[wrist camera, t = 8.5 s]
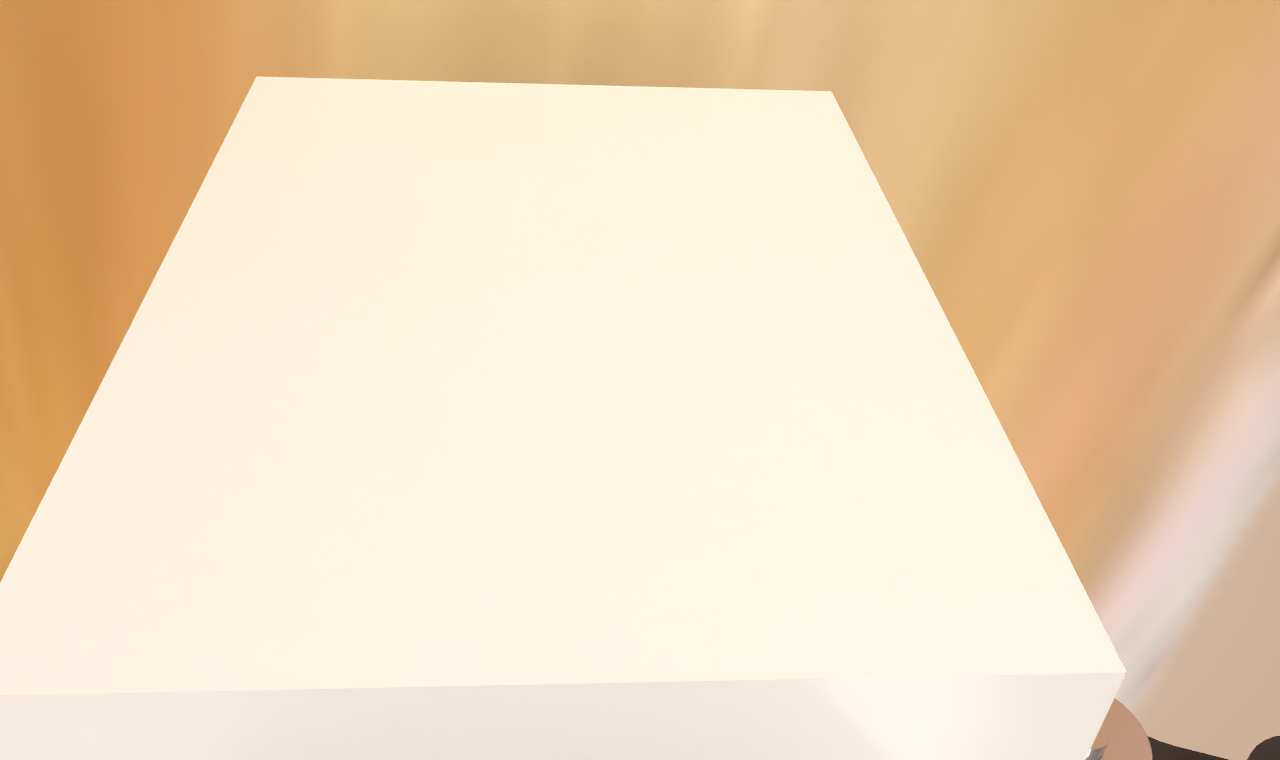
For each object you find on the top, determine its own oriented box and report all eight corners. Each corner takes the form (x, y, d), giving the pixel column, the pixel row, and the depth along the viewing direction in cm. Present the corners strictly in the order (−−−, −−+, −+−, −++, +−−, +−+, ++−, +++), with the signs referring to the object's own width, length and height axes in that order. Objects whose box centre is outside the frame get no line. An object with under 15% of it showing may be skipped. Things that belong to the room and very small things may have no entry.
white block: (256, 75, 13) (-58, 695, 6) (831, 90, 14) (1125, 671, 7) (320, 507, 17) (172, 1176, 10) (763, 503, 18) (907, 1135, 11)
